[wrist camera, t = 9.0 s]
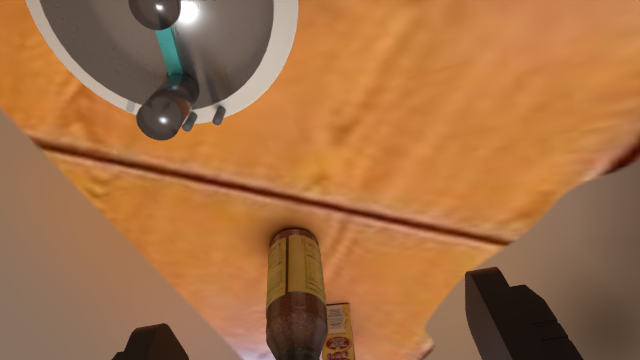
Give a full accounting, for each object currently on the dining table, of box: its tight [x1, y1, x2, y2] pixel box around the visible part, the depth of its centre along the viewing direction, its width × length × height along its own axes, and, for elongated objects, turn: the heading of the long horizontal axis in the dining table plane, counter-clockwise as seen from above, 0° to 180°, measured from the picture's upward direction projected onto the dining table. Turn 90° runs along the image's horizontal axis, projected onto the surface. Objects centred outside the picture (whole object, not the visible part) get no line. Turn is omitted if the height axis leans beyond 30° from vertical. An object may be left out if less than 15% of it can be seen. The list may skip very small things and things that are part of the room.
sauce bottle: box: [266, 229, 328, 360], centre depth 40 cm, size 7×6×20 cm
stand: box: [25, 0, 298, 131], centre depth 32 cm, size 22×22×4 cm
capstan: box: [39, 0, 274, 140], centre depth 29 cm, size 18×18×8 cm
